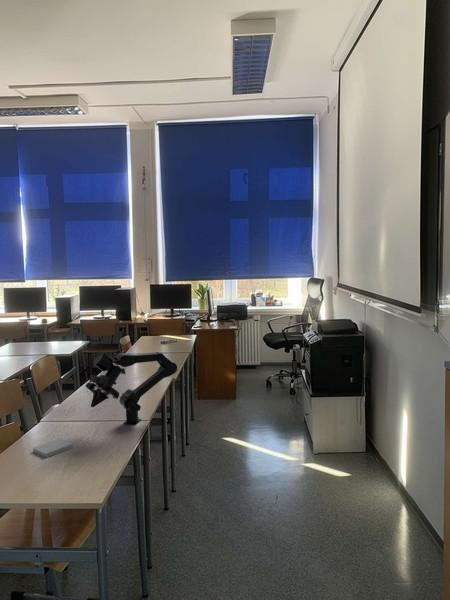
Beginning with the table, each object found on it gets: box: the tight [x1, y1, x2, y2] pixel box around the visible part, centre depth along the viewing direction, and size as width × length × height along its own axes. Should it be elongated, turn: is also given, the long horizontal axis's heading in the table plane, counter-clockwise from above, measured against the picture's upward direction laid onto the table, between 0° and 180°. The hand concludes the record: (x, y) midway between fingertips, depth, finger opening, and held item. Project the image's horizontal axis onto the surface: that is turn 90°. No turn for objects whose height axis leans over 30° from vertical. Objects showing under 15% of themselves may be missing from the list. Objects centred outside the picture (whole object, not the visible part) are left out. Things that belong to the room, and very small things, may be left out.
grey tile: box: [32, 438, 74, 459], centre depth 187 cm, size 2×10×12 cm
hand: (91, 406), depth 201 cm, fingers closed
